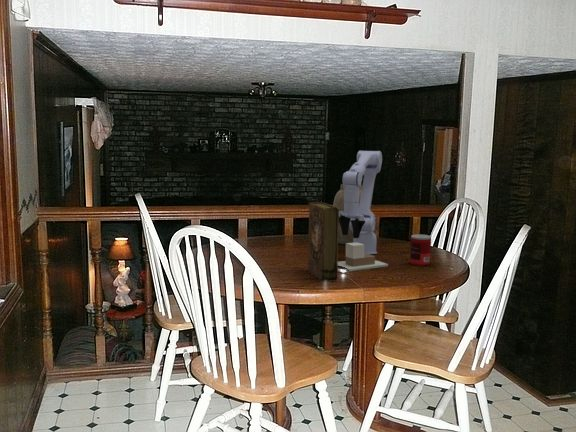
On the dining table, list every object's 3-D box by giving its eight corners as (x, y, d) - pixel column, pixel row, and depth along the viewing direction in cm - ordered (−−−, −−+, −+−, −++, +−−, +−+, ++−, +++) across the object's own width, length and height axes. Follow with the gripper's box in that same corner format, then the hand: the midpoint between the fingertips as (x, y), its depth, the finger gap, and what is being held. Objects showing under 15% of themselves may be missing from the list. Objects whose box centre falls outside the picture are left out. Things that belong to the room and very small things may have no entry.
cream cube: (356, 255, 212) (356, 242, 211) (364, 257, 207) (364, 244, 207) (345, 256, 209) (345, 243, 209) (353, 258, 205) (353, 245, 204)
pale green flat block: (369, 260, 221) (369, 250, 220) (388, 266, 210) (388, 256, 210) (331, 264, 212) (331, 254, 212) (349, 271, 202) (349, 261, 201)
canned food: (430, 262, 218) (432, 235, 216) (429, 266, 210) (430, 238, 209) (411, 260, 220) (412, 233, 219) (408, 265, 213) (409, 237, 211)
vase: (332, 238, 268) (333, 182, 264) (368, 239, 266) (369, 183, 262) (330, 245, 251) (331, 186, 247) (368, 246, 249) (370, 186, 245)
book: (306, 269, 203) (308, 202, 200) (320, 269, 205) (322, 202, 201) (322, 281, 188) (323, 208, 184) (337, 280, 189) (339, 207, 186)
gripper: (332, 200, 220) (331, 234, 222) (353, 204, 207) (352, 240, 209) (347, 199, 223) (346, 232, 225) (369, 203, 211) (367, 238, 212)
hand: (350, 236), depth 217 cm, fingers open, 7 cm apart
